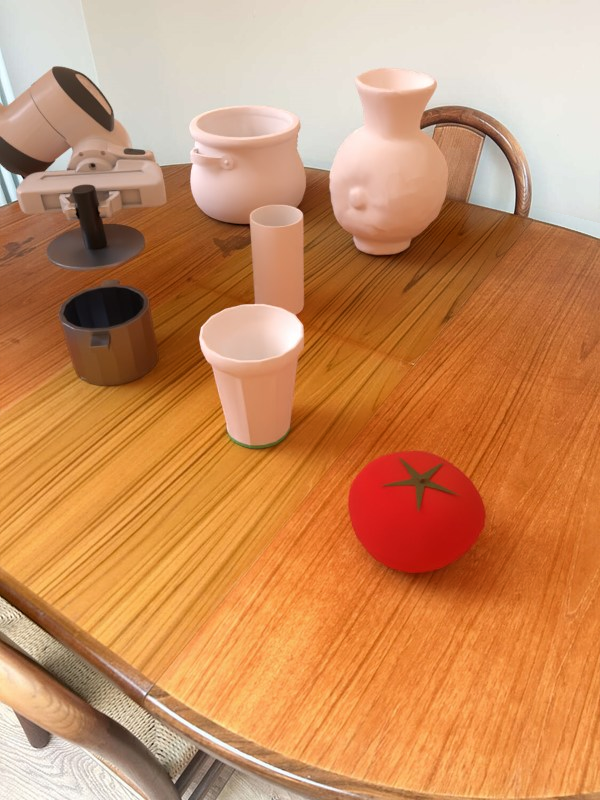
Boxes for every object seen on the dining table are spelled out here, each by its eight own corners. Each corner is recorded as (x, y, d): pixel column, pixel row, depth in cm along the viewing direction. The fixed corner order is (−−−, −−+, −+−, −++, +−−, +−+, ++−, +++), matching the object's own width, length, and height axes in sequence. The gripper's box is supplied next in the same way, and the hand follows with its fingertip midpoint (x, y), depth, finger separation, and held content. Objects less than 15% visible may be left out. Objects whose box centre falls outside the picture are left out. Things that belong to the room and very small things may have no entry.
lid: (40, 278, 86) (21, 213, 80) (56, 233, 96) (39, 172, 91) (143, 271, 88) (132, 206, 82) (148, 227, 98) (137, 167, 92)
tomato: (324, 553, 71) (325, 488, 64) (377, 479, 80) (383, 414, 73) (448, 614, 65) (463, 549, 59) (491, 527, 74) (509, 461, 67)
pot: (260, 174, 156) (256, 95, 145) (332, 204, 142) (334, 120, 131) (168, 205, 143) (155, 121, 131) (237, 242, 129) (230, 152, 117)
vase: (412, 279, 117) (433, 101, 97) (309, 251, 125) (309, 82, 106) (452, 239, 129) (476, 73, 109) (355, 215, 137) (363, 58, 118)
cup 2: (294, 391, 93) (292, 297, 83) (314, 451, 83) (315, 354, 74) (206, 404, 91) (194, 309, 81) (217, 467, 81) (204, 369, 72)
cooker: (66, 401, 92) (49, 346, 85) (82, 331, 105) (68, 278, 99) (156, 393, 93) (145, 338, 87) (160, 324, 106) (151, 272, 100)
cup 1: (274, 288, 115) (271, 200, 105) (313, 302, 111) (313, 212, 101) (245, 308, 110) (238, 218, 100) (284, 324, 106) (281, 232, 96)
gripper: (20, 157, 95) (0, 195, 84) (163, 149, 97) (160, 186, 86) (32, 199, 99) (14, 240, 88) (169, 191, 101) (167, 230, 90)
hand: (88, 213), depth 87 cm, fingers closed on lid, 3 cm apart
